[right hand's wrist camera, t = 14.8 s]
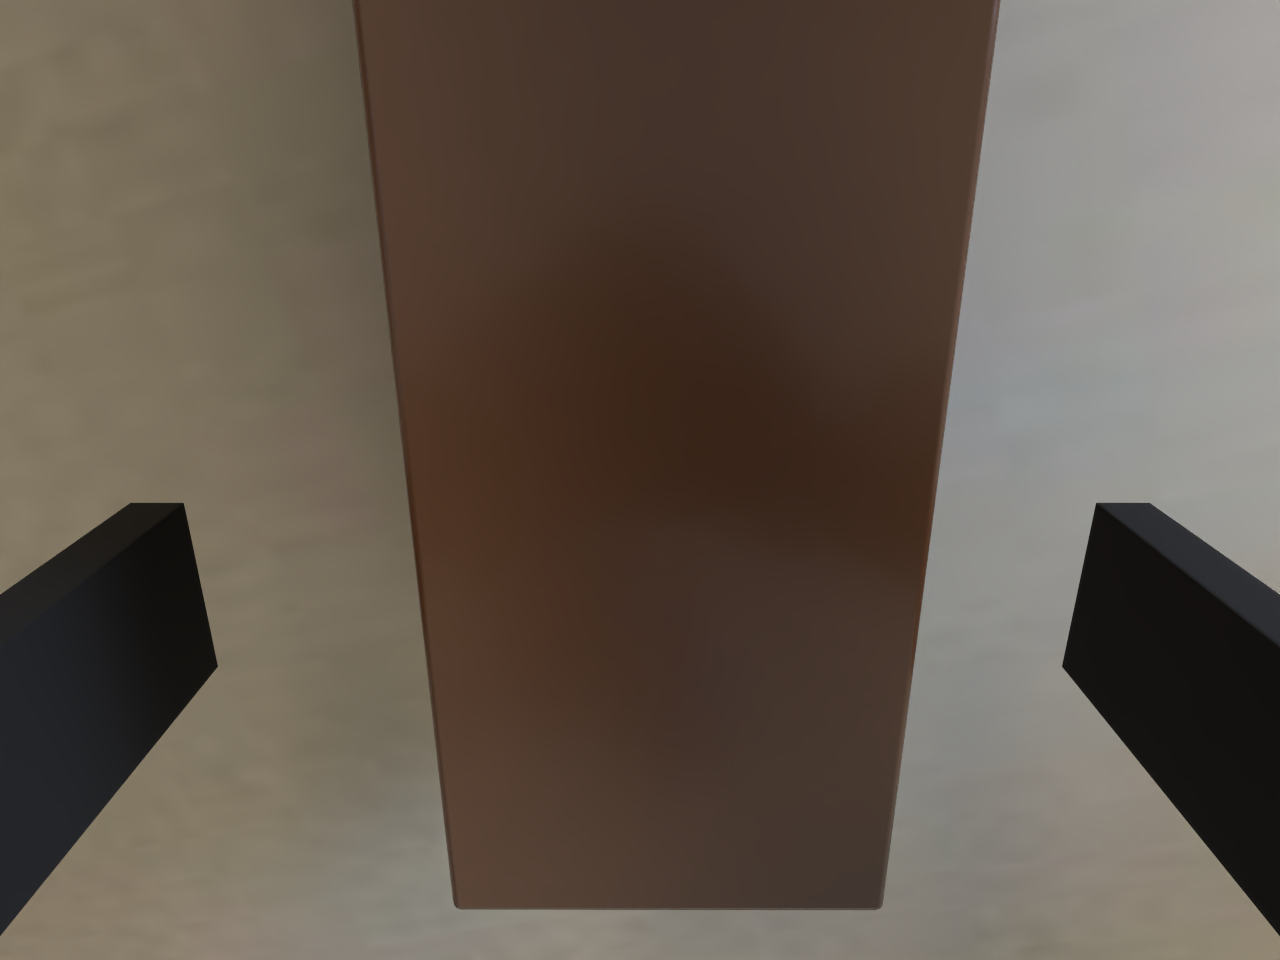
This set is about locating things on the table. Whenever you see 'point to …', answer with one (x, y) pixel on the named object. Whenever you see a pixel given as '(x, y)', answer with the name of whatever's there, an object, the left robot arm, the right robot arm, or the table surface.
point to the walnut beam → (672, 423)
